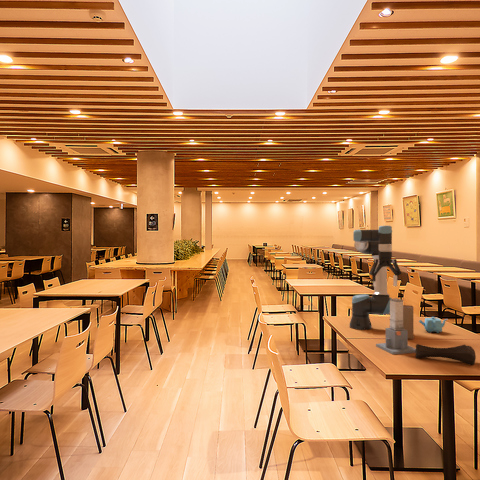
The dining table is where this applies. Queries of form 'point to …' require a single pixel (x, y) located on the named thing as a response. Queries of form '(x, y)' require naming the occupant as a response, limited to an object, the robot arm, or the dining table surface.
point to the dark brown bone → (448, 353)
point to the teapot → (433, 324)
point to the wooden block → (408, 320)
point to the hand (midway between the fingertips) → (385, 286)
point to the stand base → (396, 342)
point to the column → (396, 314)
